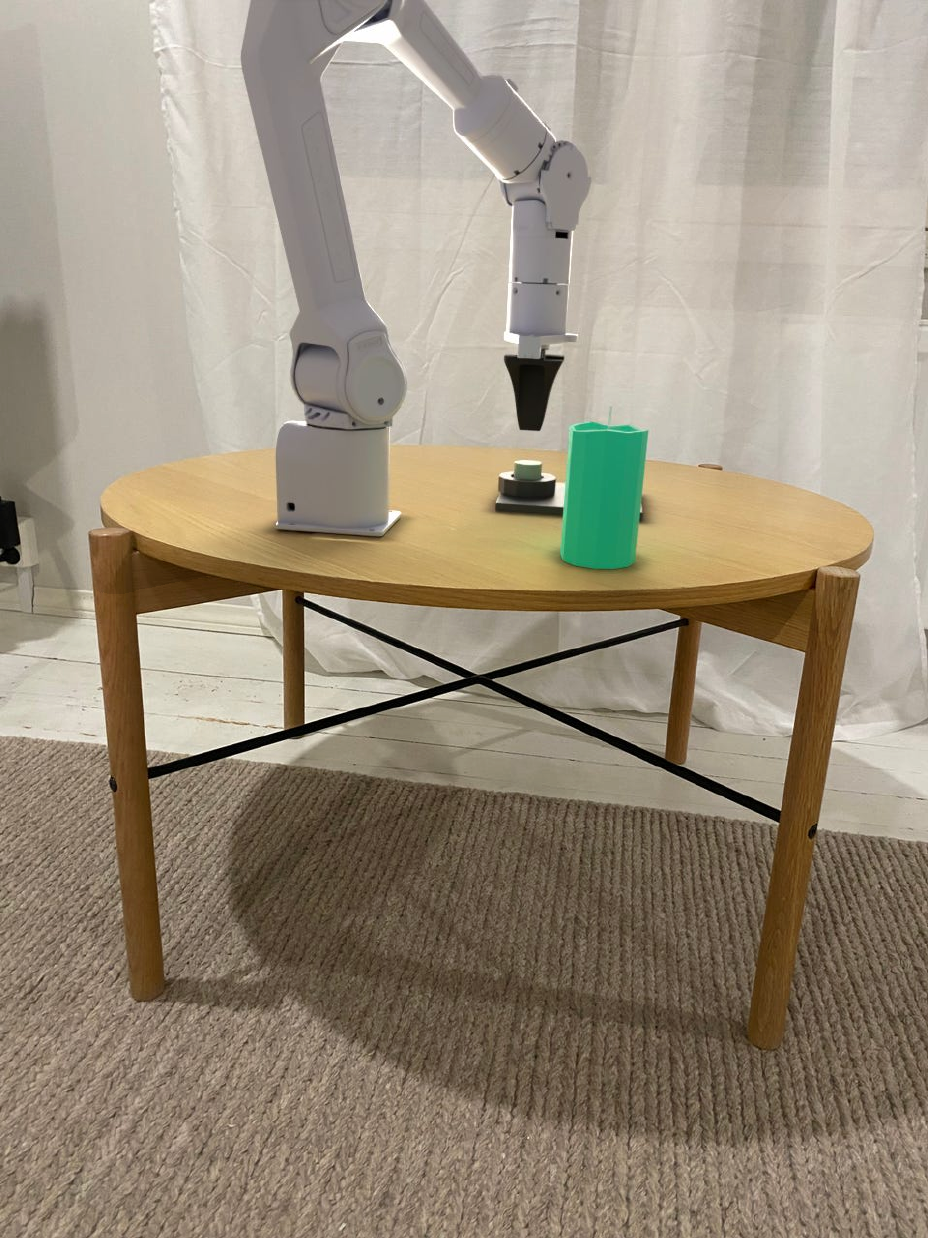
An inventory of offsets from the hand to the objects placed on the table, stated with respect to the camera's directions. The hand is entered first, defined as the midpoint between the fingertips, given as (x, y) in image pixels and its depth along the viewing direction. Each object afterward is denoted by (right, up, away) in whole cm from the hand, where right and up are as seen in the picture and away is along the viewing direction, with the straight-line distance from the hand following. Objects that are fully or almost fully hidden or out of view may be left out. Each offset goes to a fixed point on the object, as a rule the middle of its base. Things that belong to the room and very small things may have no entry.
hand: (530, 429), depth 91 cm
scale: (+4, -7, +2) cm, 8 cm away
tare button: (0, -5, +2) cm, 5 cm away
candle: (+4, -14, -17) cm, 23 cm away
